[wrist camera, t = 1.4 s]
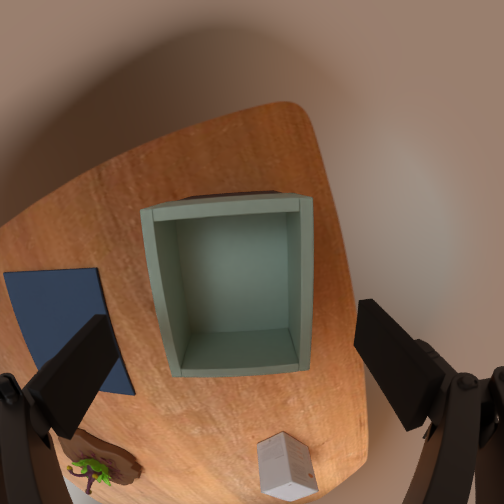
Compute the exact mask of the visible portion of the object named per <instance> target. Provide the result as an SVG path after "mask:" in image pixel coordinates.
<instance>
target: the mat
mask: <svg viewBox="0 0 504 504" xmlns="http://www.w3.org/2000/svg"><path fill="white" fill-rule="evenodd" d="M3 275H4V279H5V283H6V286H7V290H8V294H9V297H10V300H11V303H12V307H13V310H14V313H15V316H16V318H17V321H18V324H19V327H20V329H21V332H22V335H23V337H24V340H25V342H26V344H27V347H28V349H29V351H30V354H31V356H32V358H33V360H34V362H35V365H36V367H37V369H38V371H39V369H41V367H42V366H43V365H44V364H45V363H46V362H47V361H48V360H50V359H52V358H53V357H54V356H55V355H56V354H57V353H58V352H59V351H60V350H61V349H62V348H63V347H64V346H65V345H66V344H67V342H68V341H69V340H70V339H71V338H72V337H73V336H74V335H75V334H76V333H77V332H78V331H79V330H80V329H81V328H82V327H83V326H84V325H85V324H86V323H87V322H88V321H89V320H90V319H91V318H92V317H93V316H94V315H95V314H106V315H107V319H108V322H109V326H110V329H111V332H112V336H113V339H114V342H115V345H116V348H117V351H118V354H119V358H118V360H117V362H116V363H115V365H114V366H113V368H112V370H111V371H110V373H109V375H108V376H107V378H106V380H105V381H104V383H103V385H102V386H101V388H100V390H99V391H103V392H110V393H117V394H125V395H134V396H135V391H134V389H133V386H132V384H131V381H130V379H129V376H128V374H127V371H126V368H125V365H124V363H123V360H122V357H121V354H120V351H119V348H118V345H117V342H116V339H115V336H114V332H113V329H112V326H111V322H110V319H109V315H108V311H107V308H106V304H105V300H104V296H103V292H102V288H101V283H100V279H99V274H98V269H97V268H79V269H60V270H41V271H21V272H4V273H3Z"/></svg>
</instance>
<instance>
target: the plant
mask: <svg viewBox="0 0 504 504" xmlns="http://www.w3.org/2000/svg"><path fill="white" fill-rule="evenodd" d="M58 440H59V442H60V444H61V446H62V449H63V451H64V453H65V454H66V456H67V457H68V458H69V459H71V460H72V461H73V463H72V464H73V465H75V466H79V467H81V468H83V469H82V470H81V473H83V474H75V473H73V469H72V467H71V466H69V465H68V466H67V470H68V471H69V472H70V473H71V474H72V475H74V476H76V477H85V476H86V477H87V478H88V484H87V489H86V491H85V492H86V494H88V495H89V494H91V493H92V491H91V490H90V488H91V485H92V483H93V482H94V480H97V481H98V482H99V483H100V482H101V479H102V480H103V481H104V482H105V483H106V484H107V485H109V486H111V484H110V482H109V481H112V482H114V483H117V484H121V485H128V484H131V483H133V480H134V479H135V478H140V475H141V471H140V469H141V466H140V465H139V464H138V463H136V462H135V457H133V456H132V455H131V454H130V453H128V452H127V451H125V450H124V449H122V448H119V447H117V446H114V445H111V444H109V443H106V442H104V441H101V440H99V439H97V438H95V437H94V436H92V435H90V434H88V433H87V432H85V431H84V430H80V429H77V430H76V432H75V433H74V435H73V437H72V439H71V440H68V439H65V438H62V437H58Z"/></svg>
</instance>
